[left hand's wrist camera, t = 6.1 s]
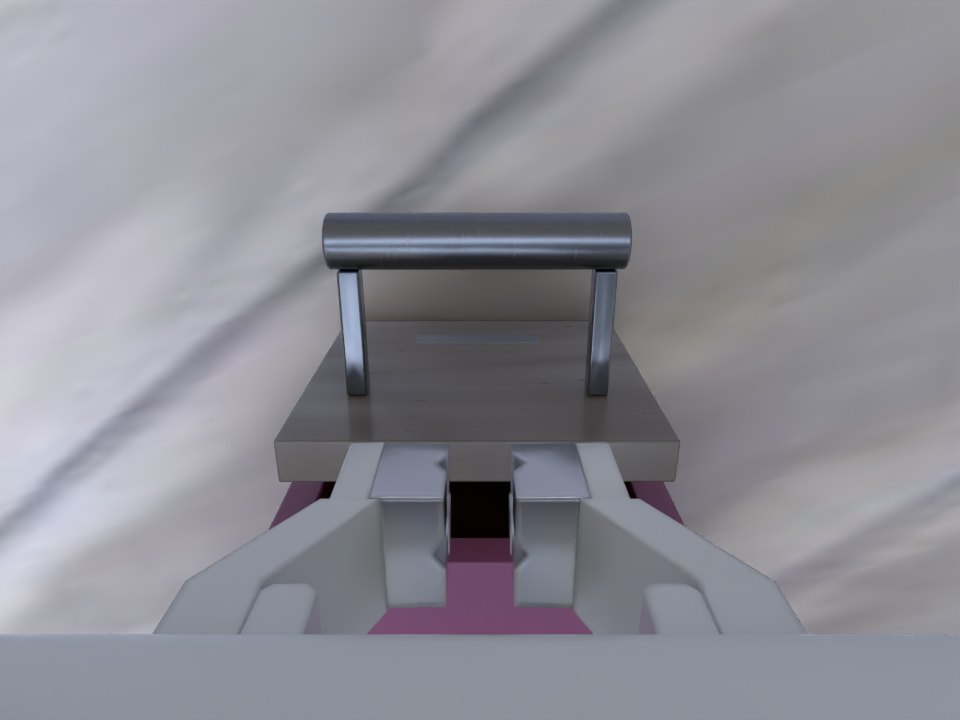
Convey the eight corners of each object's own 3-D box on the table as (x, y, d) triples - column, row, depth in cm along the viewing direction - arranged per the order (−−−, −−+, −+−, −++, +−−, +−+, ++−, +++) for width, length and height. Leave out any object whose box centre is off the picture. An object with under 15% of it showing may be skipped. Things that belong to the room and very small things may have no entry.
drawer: (335, 183, 23) (244, 234, 14) (620, 183, 23) (708, 234, 14) (375, 671, 32) (334, 893, 23) (582, 671, 32) (621, 892, 23)
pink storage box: (341, 378, 27) (250, 562, 16) (614, 378, 27) (703, 562, 16) (371, 716, 34) (321, 997, 23) (586, 715, 34) (634, 997, 23)
